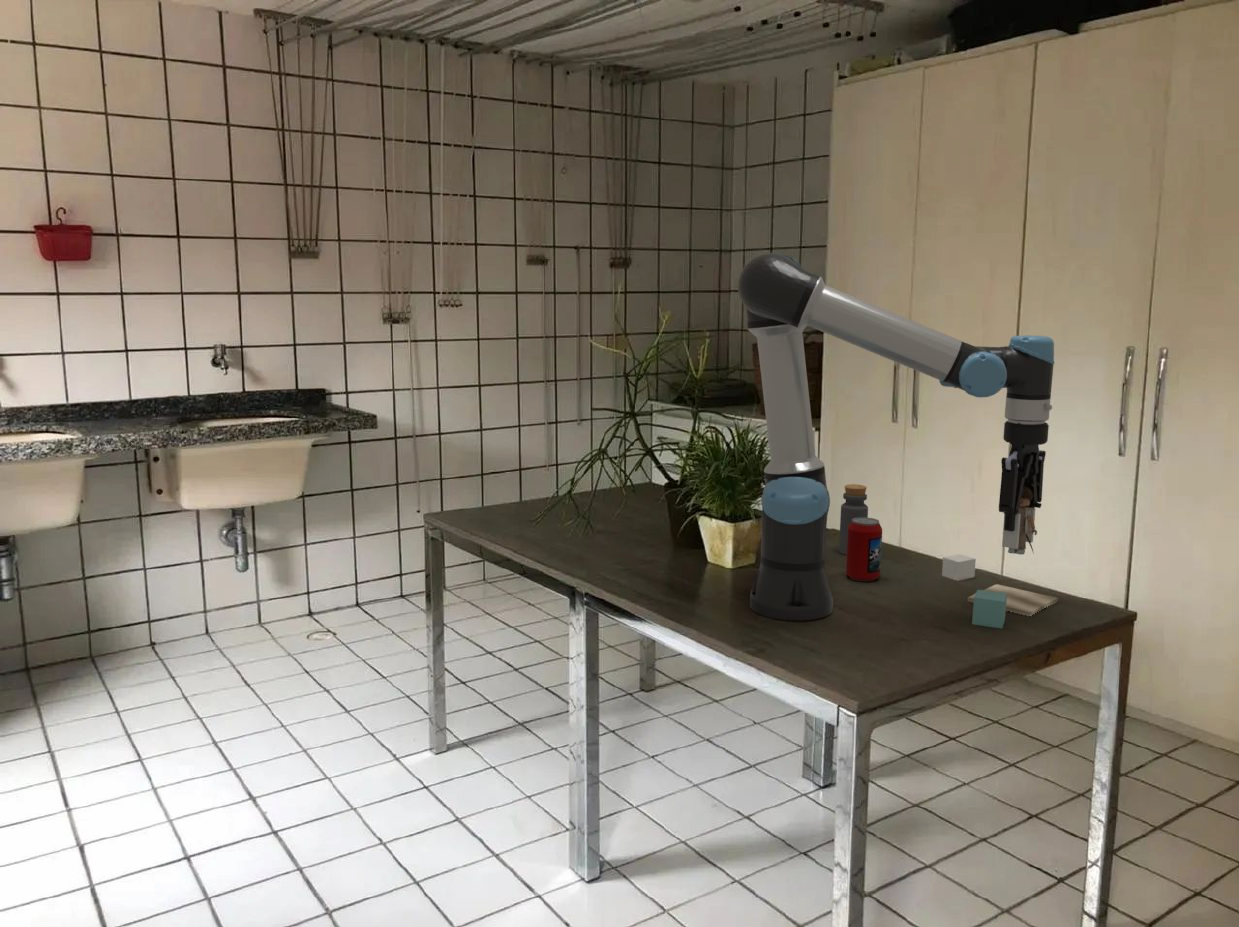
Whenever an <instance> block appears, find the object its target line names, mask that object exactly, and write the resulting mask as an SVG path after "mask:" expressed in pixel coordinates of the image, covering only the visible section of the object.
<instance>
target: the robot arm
mask: <svg viewBox="0 0 1239 927" xmlns="http://www.w3.org/2000/svg"><path fill="white" fill-rule="evenodd" d="M737 282H738V283H737V289H738V290H737V291H738V296H739V298H740V301H741V303H742V304H743V306H744V307H745V316H746V323H747V324H746V325H747V331H748V332H750V333H751V334H752V335H753V336H755V337H756V340H757V350H758V358H759V359H758V360H759V368H760V375H761V377H760V378H761V385H762V386H761V387H762V394H763V404H764V413H765V420H766V422H765V423H766V430H767V439H768V448H769V449H768V450H769V456H770V458H769V459H770V461H769V462H768V464H767V465H766V466H765V467H764V469H763V472H764V484H765V486H764V487H763V490H762V495H761V500H760V501H761V502H760V503H761V510H762V511H761V540H760V541H761V542H760V563H759V567H758V568H759V569H758V571H757V574H756V577H755V579H754V582H753V584H752V588H751V589H750V593H749V607H750V609H751V610H752V611H753V612H755V613H757V614H759V615H762V616H765V617H767V618H772V619H776V620H784V621H811V620H817V619H822V618H825V617H828V616H829V615H831V614H832V613H833V610H834V609H833V608H834V606H833V605H834V598H833V594H832V592H831V586H830V584H829V580H828V576H827V572H826V567H825V566H826V544H827V542H826V541H827V522H828V515H829V511H830V507H831V506H830V505H831V496H830V491H829V489H828V487H827V485H828V484H827V477H826V476H827V475H826V469H825V468H826V467H825V462H824V461H823V460H822V459H820V458H819V457H817V455H816V450H815V438H814V432H813V431H814V430H813V421H812V412H811V411H812V410H811V402H810V394H809V393H810V392H809V383H808V374H807V365H806V354H805V353H806V352H805V345H804V337H803V336H804V334H803V332H804V330H805V329H806V328H807V327H811V328H813V329H815V330H818V331H820V332H823V333H825V334H827V335H829V336H831V337H835V338H837V339H838V340H839V339H840V340H841V341H844V342H847V343H848V344H851V345H853V346H856V347H859V348H861V349H863V350H866V351H867V352H870V353H873V354H876V355H878V356H881V357H883V358H885V359H888V360H890V361H892V362H895V363H897V364H898V365H899V364H900V365H902V366H904V367H907V368H910V369H911V370H914V371H917V372H919V373H922V374H924V375H926V376H929V377H931V378H934V379H936V380H939V384H940V385H941V386H942V387H948V388H954V389H959V390H962V391H964V392H965V393H966V394H967V395H970V396H972V397H975V398H989V397H992V396H994V395H996V394H998V393H999V392H1000V391H1001V390H1002V389H1006V397H1005V406H1004V407H1005V408H1004V418H1005V419H1007V420H1006V421H1005V422H1004V423H1003V424H1004V426H1003V436H1002V437H1003V438H1002V439H1003V440H1004V441H1005V442H1006V443H1009V444H1010V445H1011V446H1010V451H1009V453H1008V457H1002V458H1001V461H1000V463H1001V478H1000V479H1001V480H1000V489H999V499H998V511H999V513H1003V512H1004V513H1003V515H1004V516H1003V526H1002V527H1003V530H1002V531H1003V532H1002V543H1001V547H1004V548H1008V549H1009V548H1013V549H1018V544H1019V531H1020V517H1021V514H1018V511H1019V506H1020V501H1021V496H1022V491H1023V486H1024V485H1025V486H1026V487H1028V488H1029V489H1031V491H1032V493H1033V495H1034V496H1033V495H1032V497H1033V499H1032V500H1031V501H1030V504H1029V505H1028V506H1025V507H1028V510H1030V512H1031V515H1032V517H1033V520H1034V522H1035V521H1036V520H1035V519H1036V508H1038V509H1041V507H1042V499H1043V482H1044V466H1045V465H1044V464H1045V459H1046V454H1047V453H1046V450H1040V445H1045V444H1046V443H1047V442H1048V437H1049V427H1050V425H1049V424H1048V423H1047V422H1046V421H1048V420H1050V412H1051V410H1052V409H1053V405H1052V404H1051V397H1052V385H1053V376H1054V375H1053V374H1054V365H1055V361H1054V360H1055V359H1054V358H1055V357H1054V356H1055V341H1054V340H1053V338H1051V337H1049V336H1046V335H1014V336H1012V337H1010V341H1009V343H1008V345H1007V346H976V345H972V344H969V343H968V342H964V341H962V340H961V339H958V338H956V337H952V336H950V335H948V334H945V333H943V332H941V331H938V330H935V329H934V328H932V327H929V326H926V325H923V324H921V323H918V322H917V321H914V320H912V319H909V318H907V317H904V316H902V315H899V314H897V313H894V312H892V311H889V310H887V309H885V308H882V307H880V306H877V305H875V304H872V303H870V302H867V301H864V300H862V299H860V298H858V297H856V296H852V295H850V294H848V293H845V292H843V291H841V290H838V289H836V288H833V287H831V286H828V285H826V283H825V282H824V280H823V277H822V276H820V275H817V274H815V273H812V272H811V271H809V270H806V269H804V268H803V267H802V265H801V264H800V263H799V261H797V260H796V259H794V258H793V257H792V256H789V255H788V254H784V253H781V252H780V253H778V252H766V253H761V254H759V255H756V256H754V257H752V258H751V259H750V260H749V261H748V262H747V263H746V264H745V265H744V266H743V268H742V270H741V271H740V274H739V276H738V281H737ZM1025 478H1026V479H1025ZM1028 480H1029V482H1028ZM1031 481H1032V482H1031ZM1035 482H1036V483H1035ZM1037 483H1038V484H1039V485H1040V486H1041V487H1040V486H1039V485H1038V484H1037ZM1026 484H1027V485H1026ZM1032 484H1033V485H1034V486H1033V485H1032ZM1037 489H1038V490H1037ZM1029 524H1030V522H1029ZM1031 530H1033V529H1032V527H1031V525H1030V530H1029V532H1028V533H1027V536H1028V538H1029V541H1030V543H1031V544H1032V543H1034V535H1035V532H1033V534H1032V533H1031ZM1026 543H1029V542H1028V540H1027V537H1026Z"/></svg>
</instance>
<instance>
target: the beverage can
mask: <svg viewBox="0 0 1239 927" xmlns="http://www.w3.org/2000/svg"><path fill="white" fill-rule="evenodd" d="M882 543H883V528H882V526H881V524H880V520H878V519H876V518H873V517H868V518H866V517H859V518H853V519H852V522H851V523H850V525H849V527H848V539H847V555H846V562H845V563H846V566H845V568H846V569H845V573H846V575H847V576H848V577H850V579H852V580H855V581H857V582H872V581H875V580H876V579H878V578H879V577H880V576H881V563H882V562H881V561H882V545H883V544H882Z"/></svg>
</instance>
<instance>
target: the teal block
mask: <svg viewBox="0 0 1239 927" xmlns="http://www.w3.org/2000/svg"><path fill="white" fill-rule="evenodd" d="M984 590H985V589H977V590H976V592H975V593H974V594H975V596H974V603H973V604H972V606H973V607H972V619H971V620H972V622H971V625H975V626H981V627H988V628H995V629H1001V630H1002V629H1003V627H1004V624H1005V621H1006V612H1007V611H1006V600H1007V594H1006V593H999V592H991V591H984Z"/></svg>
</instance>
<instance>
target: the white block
mask: <svg viewBox="0 0 1239 927" xmlns="http://www.w3.org/2000/svg"><path fill="white" fill-rule="evenodd" d="M976 560H977V559H976V558H975V557H970V556H968V555H966V554H965V555H964V554H962V553H959V554H955V555H948V556H944V557H942V567H941V568H942V569H941V571H942V572H941V576H942V577H944V578H948V579H951V580H954V581H958V582H959V581H963V580H968V579H972V578H975V576H976V575H975V573H976Z"/></svg>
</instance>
